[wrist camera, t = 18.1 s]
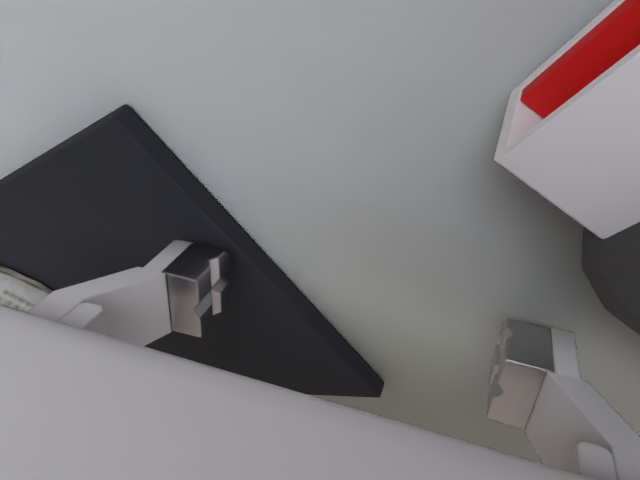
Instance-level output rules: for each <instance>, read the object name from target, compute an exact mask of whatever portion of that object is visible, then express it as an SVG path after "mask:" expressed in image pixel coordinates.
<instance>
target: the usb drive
mask: <svg viewBox="0 0 640 480" xmlns="http://www.w3.org/2000/svg"><path fill="white" fill-rule="evenodd" d="M494 161H495V162H497V163H498V164H499V165H501V166H502V167H504V168H505V169H506V170H508V171H509V172H510V173H512V174H513V175H514V176H516V177H517V178H518V179H520V180H521V181H523V182H524V183H525V184H527V185H528V186H529V187H531V188H532V189H533V190H535V191H536V192H537V193H539V194H540V195H542V196H543V197H544V198H546V199H547V200H548V201H550V202H551V203H552V204H554V205H555V206H556V207H558V208H559V209H561V210H562V211H563V212H565V213H566V214H567V215H569V216H570V217H571V218H573V219H574V220H575V221H577V222H578V223H580V224H581V225H582V226H584V235H583V249H582V269H583V271H584V273H585V275H586V277H587V278H588V280H589V282H590V284H591V285H592V287H593V289H594V291H595V292H596V294H597V296H598V297H599V299H600V301H601V303H602V304H603V306H604V307H605V308H606V309H607V310H608V311H609V312H610V313H611V314H612V315H613V316H615V317H616V318H618V319H619V320H620V321H622V322H623V323H624V324H626V325H627V326H629V327H630V328H631V329H633V330H634V331H636V332H637V333H638V334H640V0H614V1H613V2H612V3H611V4H610V5H609V6H607V7H606V8H605V9H604V10H603V11H602V12H601V13H599V14H598V15H597V16H596V17H595V18H594V19H593V20H592V21H590V22H589V23H588V24H587V25H586V26H585V27H584V28H583V29H581V30H580V31H579V32H578V33H577V34H576V35H575V36H573V37H572V38H571V39H570V40H569V41H568V42H567V43H566V44H564V45H563V46H562V47H561V48H560V49H559V50H558V51H557V52H555V53H554V54H553V55H552V56H551V57H550V58H549V59H547V60H546V61H545V62H544V63H543V64H542V65H541V66H540V67H538V68H537V69H536V70H535V71H534V72H533V73H532V74H531V75H529V76H528V77H527V78H526V79H525V80H524V81H523V82H521V83H520V84H519V85H518V86H517V87H516V88H515V89H514V90H513V91H512V92H511V94H510V97H509V101H508V105H507V109H506V113H505V117H504V121H503V125H502V129H501V133H500V137H499V141H498V145H497V149H496V153H495V157H494Z"/></svg>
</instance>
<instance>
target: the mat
mask: <svg viewBox="0 0 640 480" xmlns="http://www.w3.org/2000/svg"><path fill="white" fill-rule="evenodd" d="M178 239H180V240H184V241H188V242H193V243H197V244H200V245H204V246H208V247H212V248H216V249H220V250H223V251H227V252H228V253H229V254H230V259H231V266H230V267H229V269H228V270H227V271H226V272H227V274H228V275H229V277H230V278H231V285H232V287H231V294H230V297H229V300H228V302H227V305H226V306H225V308H224V309H223V310H222V312H220V313H218V314H215V315H213V323H212V324H211V326H210V327H209V328H208V329H207V331H206V332H205V333H204V335H203V336H202V337H201V338H200V337H196V336H192V335H188V334H184V333H180V332H176V331H172V330H171V331H172V332H171V333H169V334H167V335H165V336H163V337H161V338H159V339H157V340H155V341H153V342H151V343H149V344H147V345H145V346H144V347H148V348H151V349H154V350H158V351H161V352H165V353H168V354H171V355H175V356H178V357H182V358H185V359H188V360H192V361H195V362H199V363H202V364H205V365H209V366H212V367H216V368H219V369H222V370H226V371H229V372H233V373H236V374H239V375H243V376H246V377H249V378H253V379H256V380H260V381H263V382H266V383H270V384H273V385H277V386H280V387H283V388H287V389H290V390H294V391H297V392H300V393H304V394H311V395H334V396H357V397H380V395H381V392H382V389H383V386H384V382H383V381H382V380H381V378H380V377H379V376H378V375H377V374H376V373H375V372H374V371H373V370H372V369H371V368H370V367H369V365H368V364H367V363H366V362H365V361H364V360H363V359H362V358H361V357H360V356H359V355H358V354H357V352H356V351H355V350H354V349H353V348H352V347H351V346H350V345H349V344H348V343H347V342H346V341H345V340H344V338H343V337H342V336H341V335H340V334H339V333H338V332H337V331H336V330H335V329H334V328H333V327H332V325H331V324H330V323H329V322H328V321H327V320H326V319H325V318H324V317H323V316H322V315H321V314H320V312H319V311H318V310H317V309H316V308H315V307H314V306H313V305H312V304H311V303H310V302H309V301H308V299H307V298H306V297H305V296H304V295H303V294H302V293H301V292H300V291H299V290H298V289H297V288H296V286H295V285H294V284H293V283H292V282H291V281H290V280H289V279H288V278H287V277H286V276H285V275H284V273H283V272H282V271H281V270H280V269H279V268H278V267H277V266H276V265H275V264H274V263H273V262H272V260H271V259H270V258H269V257H268V256H267V255H266V254H265V253H264V252H263V251H262V250H261V249H260V247H259V246H258V245H257V244H256V243H255V242H254V241H253V240H252V239H251V238H250V237H249V236H248V234H247V233H246V232H245V231H244V230H243V229H242V228H241V227H240V226H239V225H238V224H237V223H236V221H235V220H234V219H233V218H232V217H231V216H230V215H229V214H228V213H227V212H226V211H225V210H224V208H223V207H222V206H221V205H220V204H219V203H218V202H217V201H216V200H215V199H214V198H213V197H212V195H211V194H210V193H209V192H208V191H207V190H206V189H205V188H204V187H203V186H202V185H201V184H200V182H199V181H198V180H197V179H196V178H195V177H194V176H193V175H192V174H191V173H190V172H189V171H188V169H187V168H186V167H185V166H184V165H183V164H182V163H181V162H180V161H179V160H178V159H177V158H176V156H175V155H174V154H173V153H172V152H171V151H170V150H169V149H168V148H167V147H166V146H165V145H164V144H163V142H162V141H161V140H160V139H159V138H158V137H157V136H156V135H155V134H154V133H153V132H152V131H151V129H150V128H149V127H148V126H147V125H146V124H145V123H144V122H143V121H142V120H141V119H140V118H139V116H138V115H137V114H136V113H135V112H134V111H133V110H132V109H131V108H130V107H129V106H128V105H127V104H125V105H123V106H121V107H120V108H118V109H116V110H115V111H113V112H111V113H110V114H108V115H106V116H105V117H103V118H101V119H100V120H98V121H96V122H95V123H93V124H92V125H90V126H88V127H87V128H85V129H83V130H82V131H80V132H78V133H77V134H75V135H73V136H72V137H70V138H69V139H67V140H65V141H64V142H62V143H60V144H59V145H57V146H55V147H54V148H52V149H50V150H49V151H47V152H46V153H44V154H42V155H41V156H39V157H37V158H36V159H34V160H32V161H31V162H29V163H27V164H26V165H24V166H23V167H21V168H19V169H18V170H16V171H14V172H13V173H11V174H9V175H8V176H6V177H4V178H3V179H1V180H0V266H2V267H6V268H8V269H11V270H14V271H16V272H18V273H20V274H22V275H24V276H26V277H29V278H31V279H33V280H36V281H38V282H40V283H42V284H43V285H45V286H46V287H48V288H49V289H51V290H53V291H55V290H58V289H62V288H65V287H69V286H72V285H76V284H79V283H83V282H86V281H90V280H93V279H97V278H100V277H104V276H107V275H111V274H114V273H118V272H121V271H125V270H128V269H131V268H135V267H142V268H143V267H144V266H146V265H147V264H148V263H149V262H150V261H151V260H152V259H153V258H155V257H156V256H157V255H158V254H159V253H160V252H161V251H163V250H164V249H165V248H166V247H167V246H168V245H169V244H170V243H172V242H173V241H174V240H178Z"/></svg>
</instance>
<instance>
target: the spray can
mask: <svg viewBox="0 0 640 480" xmlns="http://www.w3.org/2000/svg"><path fill="white" fill-rule="evenodd" d="M51 292H53V290H51V289H49V288H48V287H46V286H45V285H43V284H42V283H40V282H38V281H36V280H33V279H31V278H29V277H26V276H24V275H22V274H20V273H18V272H16V271H14V270H11V269H8V268H6V267H2V266H0V304H2V305H5V306H8V307H12V308H15V309H19V310H22V311H25V312H27V311H28V310H29V309H31V308H32V307H33V306H34V305H36V304H37V303H38V302H40V301H41V300H42V299H44V298H45V297H46V296H48V295H49V294H50V293H51Z"/></svg>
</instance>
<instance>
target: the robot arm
mask: <svg viewBox="0 0 640 480" xmlns="http://www.w3.org/2000/svg"><path fill="white" fill-rule="evenodd" d="M230 266H231V259H230V254H229V253H228V252H227V251H223V250H220V249H216V248H212V247H208V246H204V245H200V244H197V243H193V242H188V241H184V240H180V239H178V240H174V241H173V242H172V243H170V244H169V245H168V246H167V247H166V248H165V249H164V250H163V251H161V252H160V253H159V254H158V255H157V256H156V257H155V258H153V259H152V260H151V261H150V262H149V263H148V264H147V265H146V266H144V267H143V268H142V267H135V268H131V269H128V270H125V271H121V272H118V273H114V274H111V275H107V276H104V277H100V278H97V279H93V280H90V281H86V282H83V283H79V284H76V285H72V286H69V287H65V288H62V289H58V290H55V291H53V292H51V293H50V294H49V295H48V296H46V297H45V298H44V299H42V300H41V301H40V302H38V303H37V304H36V305H34V306H33V307H32V308H31V309H29V310H28V311H27V312H25V311H22V310H19V309H15V308H12V307H8V306H5V305H2V304H0V480H640V436H639V435H638V434H637V433H636V432H635V431H634V430H633V429H632V428H631V427H630V425H629V424H628V423H627V422H626V421H625V420H624V419H623V418H622V417H621V416H620V415H619V414H618V413H617V412H616V411H615V410H614V409H613V408H612V406H611V405H610V404H609V403H608V402H607V401H606V400H605V399H604V398H603V397H602V396H601V395H600V394H599V393H598V392H597V391H596V390H595V389H594V387H593V386H592V385H591V384H590V383H589V382H588V381H585V380H581V376H580V369H579V362H578V355H577V348H576V341H575V335H574V333H573V332H571V331H566V330H561V329H556V328H551V327H550V328H549V327H544V326H540V325H535V324H531V323H526V322H522V321H518V320H513V319H509V318H505V320H504V322H503V325H502V328H501V332H500V343H499V344H498V345H496V348H495V351H494V355H493V359H492V363H491V368H490V375H489V384H490V386H491V388H490V392H489V395H488V403H487V419H490V420H493V421H497V422H500V423H503V424H506V425H510V426H513V427H516V428H519V429H523V430H525V431H524V432H525V434H526V436H527V437H528V439H529V441H530V443H531V444H532V446H533V448H534V449H535V451H536V453H537V455H538V456H539V458H540V460H541V461H542V463H543V464H542V463H538V462H535V461H531V460H528V459H525V458H521V457H518V456H514V455H511V454H508V453H504V452H501V451H498V450H494V449H491V448H487V447H484V446H481V445H477V444H474V443H470V442H467V441H464V440H460V439H457V438H453V437H450V436H447V435H443V434H440V433H436V432H433V431H430V430H426V429H423V428H419V427H416V426H413V425H409V424H406V423H402V422H399V421H396V420H392V419H389V418H385V417H382V416H379V415H375V414H372V413H368V412H365V411H362V410H358V409H355V408H351V407H348V406H345V405H341V404H338V403H334V402H331V401H328V400H324V399H321V398H317V397H314V396H311V395H307V394H304V393H300V392H297V391H294V390H290V389H287V388H283V387H280V386H277V385H273V384H270V383H266V382H263V381H260V380H256V379H253V378H249V377H246V376H243V375H239V374H236V373H233V372H229V371H226V370H222V369H219V368H216V367H212V366H209V365H205V364H202V363H199V362H195V361H192V360H188V359H185V358H182V357H178V356H175V355H171V354H168V353H165V352H161V351H158V350H154V349H151V348H148V347H144V346H145V345H147V344H149V343H151V342H153V341H155V340H157V339H159V338H161V337H163V336H165V335H167V334H169V333H171V332H172V331H176V332H180V333H184V334H188V335H192V336H196V337H200V338H201V337H202V336H203V335H204V333H205V332H206V331H207V329H208V328H209V327H210V326H211V324H212V323H213V315H215V314H218V313H220V312H222V310H223V309H224V308H225V306H226V305H227V302H228V300H229V297H230V294H231V287H232V285H231V278H230V277H229V275H228V274H227V272H226V271H227V270H228V269H229V267H230ZM171 330H172V331H171Z"/></svg>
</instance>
